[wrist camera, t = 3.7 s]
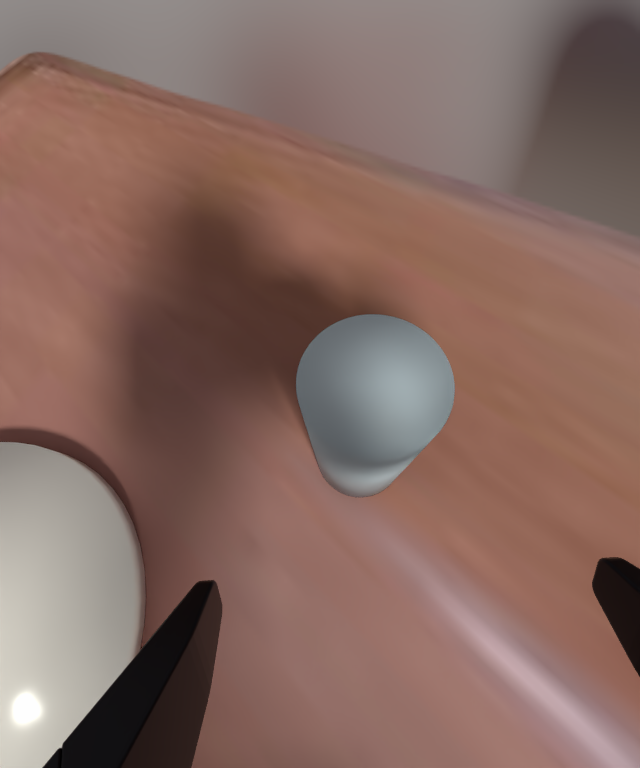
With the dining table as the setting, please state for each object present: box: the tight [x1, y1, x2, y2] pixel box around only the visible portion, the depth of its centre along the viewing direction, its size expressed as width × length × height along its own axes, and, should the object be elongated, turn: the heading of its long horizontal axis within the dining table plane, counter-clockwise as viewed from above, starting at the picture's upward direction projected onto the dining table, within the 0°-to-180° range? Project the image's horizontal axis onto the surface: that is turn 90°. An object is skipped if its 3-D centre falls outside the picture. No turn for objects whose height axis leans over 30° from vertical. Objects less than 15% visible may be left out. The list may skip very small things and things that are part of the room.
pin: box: [296, 314, 455, 497], centre depth 17 cm, size 5×5×11 cm
